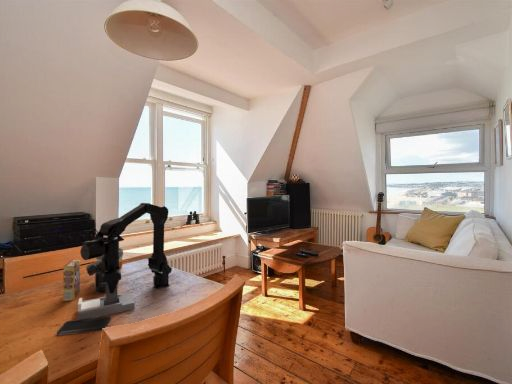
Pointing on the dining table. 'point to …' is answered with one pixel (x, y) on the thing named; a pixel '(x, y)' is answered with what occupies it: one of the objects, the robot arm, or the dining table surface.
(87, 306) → the shutter
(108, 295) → the plug
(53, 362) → the dining table surface
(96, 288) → the supplement bottle
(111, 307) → the socket plate
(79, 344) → the dining table surface
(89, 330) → the phone
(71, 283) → the candy box
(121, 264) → the reusable coffee cup
